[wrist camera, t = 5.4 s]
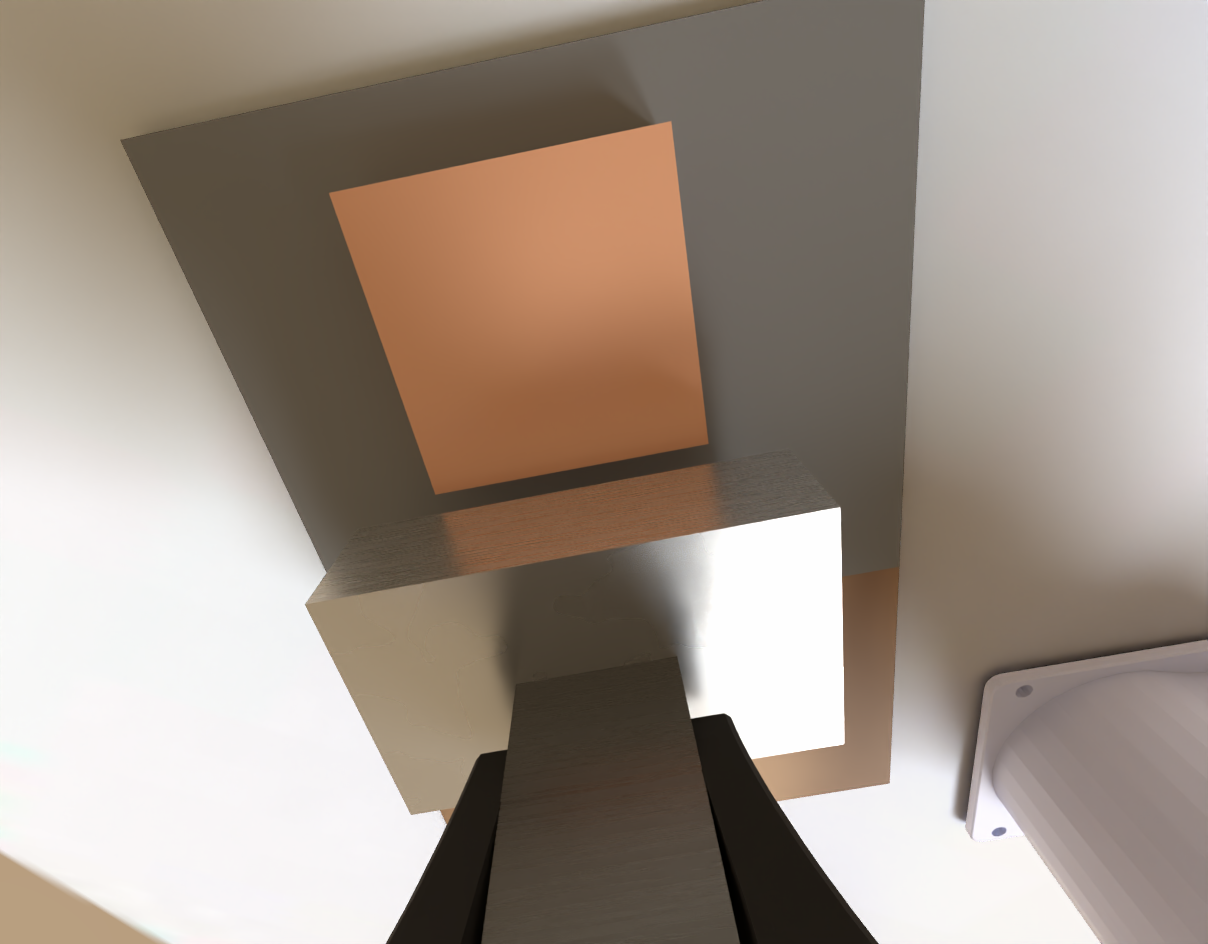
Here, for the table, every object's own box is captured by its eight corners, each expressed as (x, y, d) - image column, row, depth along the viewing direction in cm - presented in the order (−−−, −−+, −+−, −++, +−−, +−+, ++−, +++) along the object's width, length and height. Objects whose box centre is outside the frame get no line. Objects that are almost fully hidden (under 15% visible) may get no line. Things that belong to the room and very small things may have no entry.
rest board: (890, 556, 16) (899, 566, 16) (882, 770, 20) (889, 783, 19) (373, 646, 17) (368, 659, 16) (462, 837, 21) (459, 851, 20)
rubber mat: (911, -25, 11) (926, -36, 10) (890, 556, 16) (899, 566, 16) (139, 142, 11) (120, 140, 11) (373, 646, 17) (368, 659, 16)
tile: (695, 419, 14) (659, 130, 11) (708, 443, 12) (671, 121, 10) (449, 465, 14) (358, 193, 11) (435, 494, 12) (328, 192, 10)
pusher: (789, 448, 12) (1146, 856, 4) (800, 655, 14) (1046, 1151, 7) (356, 529, 12) (8, 1030, 5) (438, 717, 14) (289, 1251, 7)
